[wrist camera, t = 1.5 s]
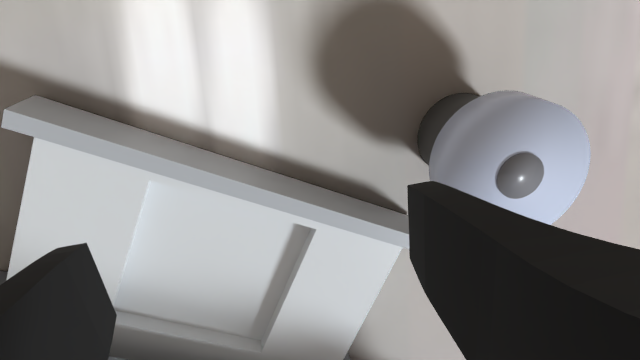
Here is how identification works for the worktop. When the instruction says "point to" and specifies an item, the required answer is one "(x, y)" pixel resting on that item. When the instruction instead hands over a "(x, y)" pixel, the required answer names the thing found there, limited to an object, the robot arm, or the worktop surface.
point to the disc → (514, 154)
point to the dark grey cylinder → (439, 121)
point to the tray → (200, 241)
